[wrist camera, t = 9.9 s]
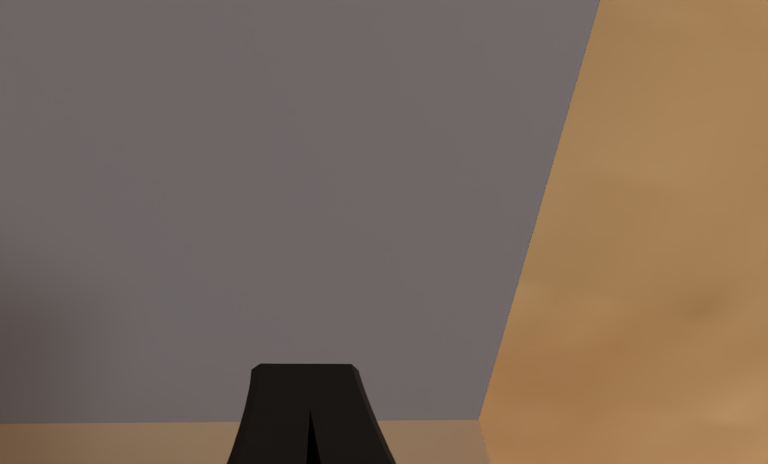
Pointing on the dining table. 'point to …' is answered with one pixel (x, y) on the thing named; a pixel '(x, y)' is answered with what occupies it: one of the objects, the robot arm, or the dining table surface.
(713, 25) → the dining table surface
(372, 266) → the box
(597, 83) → the dining table surface
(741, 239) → the dining table surface
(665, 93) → the dining table surface
